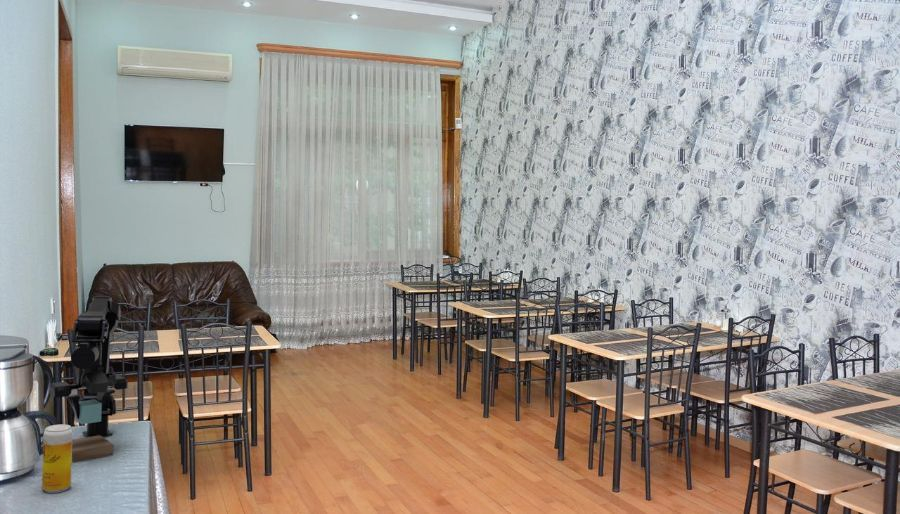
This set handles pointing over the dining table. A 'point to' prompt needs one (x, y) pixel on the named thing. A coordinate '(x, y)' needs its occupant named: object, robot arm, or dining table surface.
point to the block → (89, 411)
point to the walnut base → (90, 448)
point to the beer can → (57, 458)
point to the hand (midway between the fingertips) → (88, 416)
